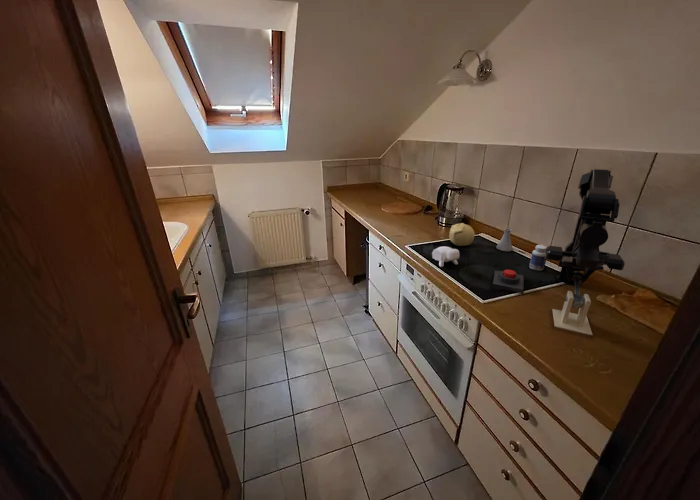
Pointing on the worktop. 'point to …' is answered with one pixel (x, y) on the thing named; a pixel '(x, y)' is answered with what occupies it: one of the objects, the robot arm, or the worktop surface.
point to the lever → (577, 289)
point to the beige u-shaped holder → (573, 316)
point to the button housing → (508, 282)
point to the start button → (509, 273)
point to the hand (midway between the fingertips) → (575, 281)
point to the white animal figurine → (445, 255)
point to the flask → (505, 241)
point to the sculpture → (461, 234)
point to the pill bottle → (538, 258)
